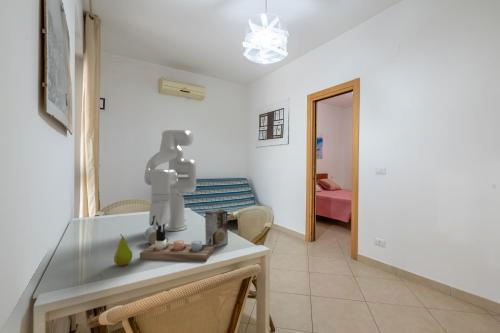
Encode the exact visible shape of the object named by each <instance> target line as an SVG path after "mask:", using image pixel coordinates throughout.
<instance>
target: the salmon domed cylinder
mask: <svg viewBox="0 0 500 333" xmlns="http://www.w3.org/2000/svg"><path fill="white" fill-rule="evenodd" d="M172 244H173V251H183V250H184V244H185V241H184V240H182V239H178V240H175V241H173V242H172Z"/></svg>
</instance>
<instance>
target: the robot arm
mask: <svg viewBox="0 0 500 333" xmlns="http://www.w3.org/2000/svg"><path fill="white" fill-rule="evenodd" d="M193 140H194V134H193V132H192V131H191V130H188V129H187V130H186V129H167V130H163V131H162V133H161V142H160V147H159V151H158V152H156V153H155V154H154V155H153V156H151V157H150V159H149V160H148V161H147V163H146V165H145V170H144V171H145V172H144V176H143V177H144V178H143V179H144V182H145V184H147V185H149V186H151V187H150V189H151V192H150V193H151V195H150V196H151V198H150V199H151V200H150V207H149V214H148V215H149V218H148V225H149V226H150V227H153V230H156V240H157V241H164V240H165V237H166V231H169V232H179V231H184V230H186V229H188V225H187V224H185V222H186V221H187V220H186V219H185V198H184V196H183V195H182V194H181V193H193V192H196V190H197V165H196V161H195V160H194V159H191V158H187V159H185V158H184V150H183V149H182V147H183V146H184V147H185V146H187V147H189V146H191V145H192V143H193ZM165 163H168V168H158V166H161V165H162V164H165ZM179 175H180V176H179ZM182 175H184V176H182ZM185 175H186V176H185Z"/></svg>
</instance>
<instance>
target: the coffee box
mask: <svg viewBox="0 0 500 333" xmlns="http://www.w3.org/2000/svg"><path fill="white" fill-rule="evenodd" d="M204 213H205V216H204V218H205V223H204V224H205V245H214V249H215V248H218V247H222V246H225V245H227V244H228V243H229V239H228V238H229V235H228V233H229V232H228V223H229V222H228V210H224V209H213V210H209V211H205V212H204Z"/></svg>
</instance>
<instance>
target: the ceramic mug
mask: <svg viewBox="0 0 500 333" xmlns="http://www.w3.org/2000/svg"><path fill="white" fill-rule="evenodd" d="M143 236H144V240H145V241H146V242H147V243H148V244H150V246H151V245H153V244H154V243H155V241H156V230H153V226H150V227H148V228H147V229H146V230H145V232H144V234H143ZM165 239H166V243H169V239H170V238H168V237H167V236H165Z"/></svg>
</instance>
